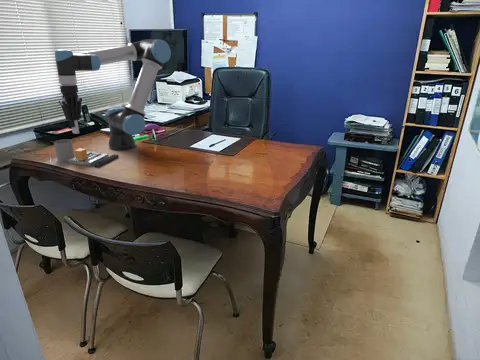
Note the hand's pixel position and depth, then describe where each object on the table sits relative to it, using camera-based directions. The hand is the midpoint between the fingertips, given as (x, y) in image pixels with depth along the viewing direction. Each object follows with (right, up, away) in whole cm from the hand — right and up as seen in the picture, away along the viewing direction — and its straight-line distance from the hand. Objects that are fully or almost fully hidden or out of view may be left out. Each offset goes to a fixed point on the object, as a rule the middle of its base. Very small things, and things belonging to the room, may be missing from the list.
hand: (75, 133), depth 171 cm
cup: (-11, -13, +12) cm, 21 cm away
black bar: (+11, -14, +9) cm, 20 cm away
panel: (+2, -13, +11) cm, 17 cm away
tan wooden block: (+1, -13, +5) cm, 14 cm away
